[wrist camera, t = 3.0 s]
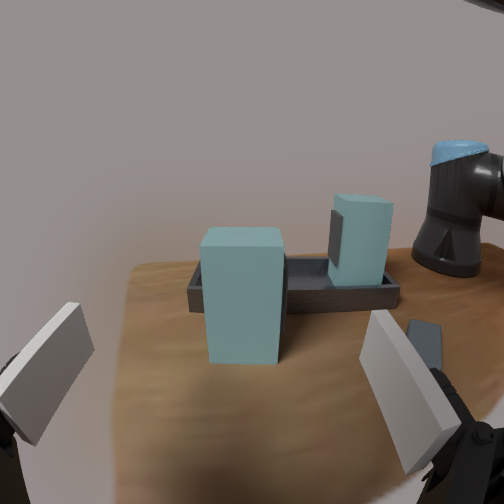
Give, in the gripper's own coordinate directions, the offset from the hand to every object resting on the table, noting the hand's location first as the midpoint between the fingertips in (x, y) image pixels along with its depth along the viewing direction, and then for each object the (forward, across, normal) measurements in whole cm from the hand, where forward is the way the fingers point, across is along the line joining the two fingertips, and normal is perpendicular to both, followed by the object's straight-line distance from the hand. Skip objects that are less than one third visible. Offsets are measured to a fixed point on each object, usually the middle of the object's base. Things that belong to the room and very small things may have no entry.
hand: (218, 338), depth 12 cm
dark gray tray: (+23, +7, -10) cm, 26 cm away
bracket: (+8, +18, -11) cm, 22 cm away
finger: (+12, +1, -10) cm, 16 cm away
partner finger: (+23, +15, -8) cm, 28 cm away
